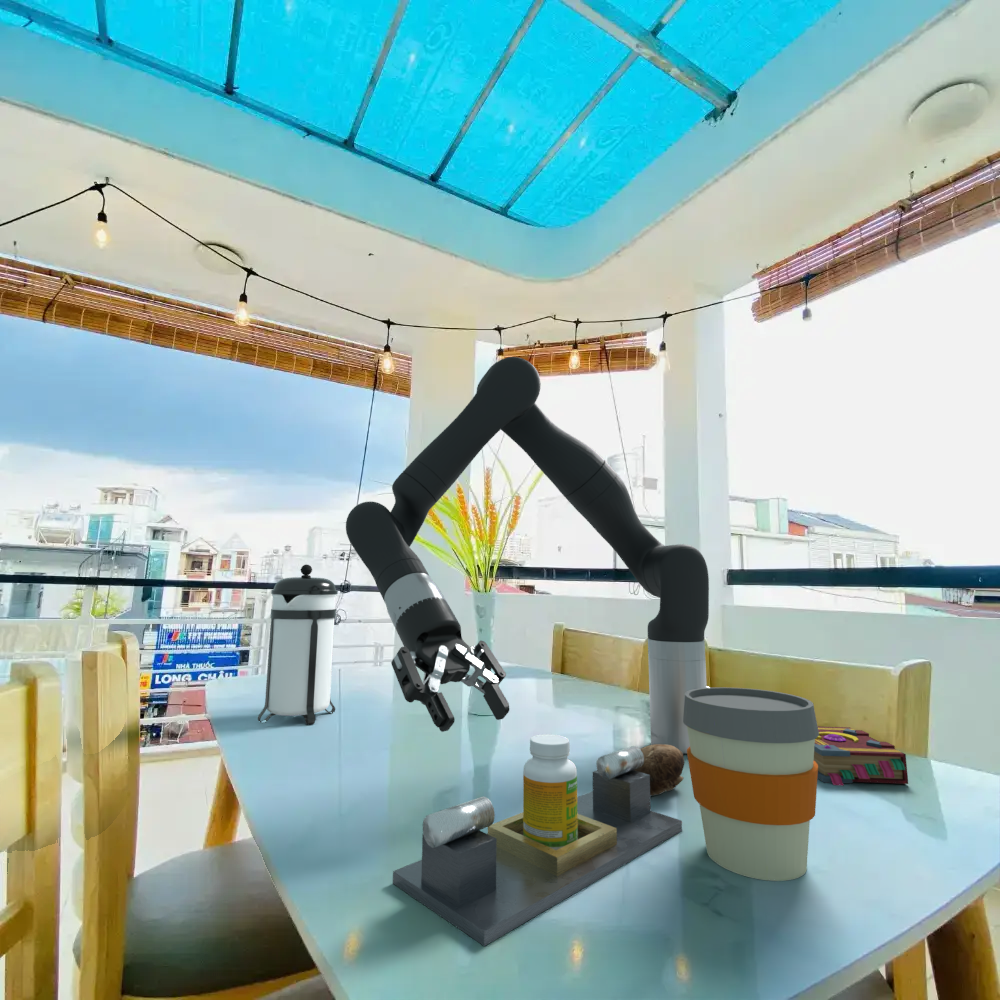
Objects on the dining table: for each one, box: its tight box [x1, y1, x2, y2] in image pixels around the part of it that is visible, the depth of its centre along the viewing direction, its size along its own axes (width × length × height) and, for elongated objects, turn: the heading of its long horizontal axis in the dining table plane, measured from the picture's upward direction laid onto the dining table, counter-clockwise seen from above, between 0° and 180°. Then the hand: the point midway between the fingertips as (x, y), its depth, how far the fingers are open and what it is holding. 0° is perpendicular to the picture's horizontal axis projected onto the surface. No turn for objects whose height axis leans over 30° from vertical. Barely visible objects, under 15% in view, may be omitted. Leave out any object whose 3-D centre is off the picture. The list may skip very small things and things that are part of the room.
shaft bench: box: [392, 745, 683, 947], centre depth 56 cm, size 30×12×7 cm, turn 134°
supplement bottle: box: [522, 733, 578, 850], centre depth 57 cm, size 5×5×10 cm
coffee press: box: [257, 564, 339, 726], centre depth 115 cm, size 17×16×30 cm
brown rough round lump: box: [634, 744, 686, 797], centre depth 73 cm, size 8×8×6 cm
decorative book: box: [814, 725, 909, 786], centre depth 83 cm, size 11×16×5 cm
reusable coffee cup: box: [683, 686, 819, 882], centre depth 56 cm, size 12×13×15 cm
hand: (477, 721), depth 65 cm, fingers open, 8 cm apart
